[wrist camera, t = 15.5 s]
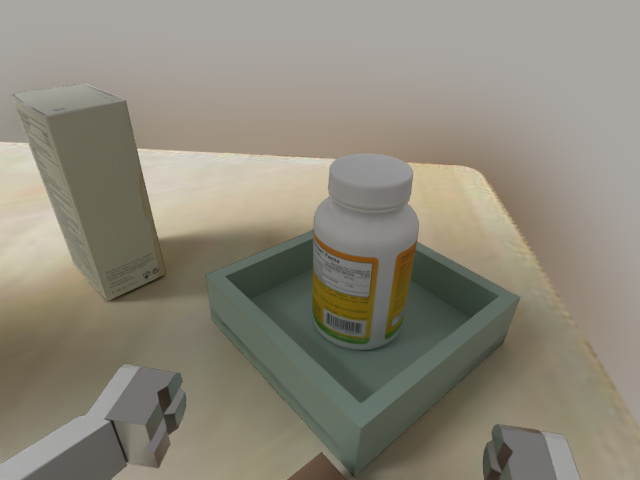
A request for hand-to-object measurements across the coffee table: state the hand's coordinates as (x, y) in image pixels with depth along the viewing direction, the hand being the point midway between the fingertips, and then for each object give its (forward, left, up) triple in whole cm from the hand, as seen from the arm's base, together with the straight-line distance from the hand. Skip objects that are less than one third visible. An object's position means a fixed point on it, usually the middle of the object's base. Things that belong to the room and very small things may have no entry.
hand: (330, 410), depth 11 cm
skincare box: (-23, +1, -9) cm, 25 cm away
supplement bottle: (-8, +10, -8) cm, 15 cm away
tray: (-8, +10, -9) cm, 15 cm away
